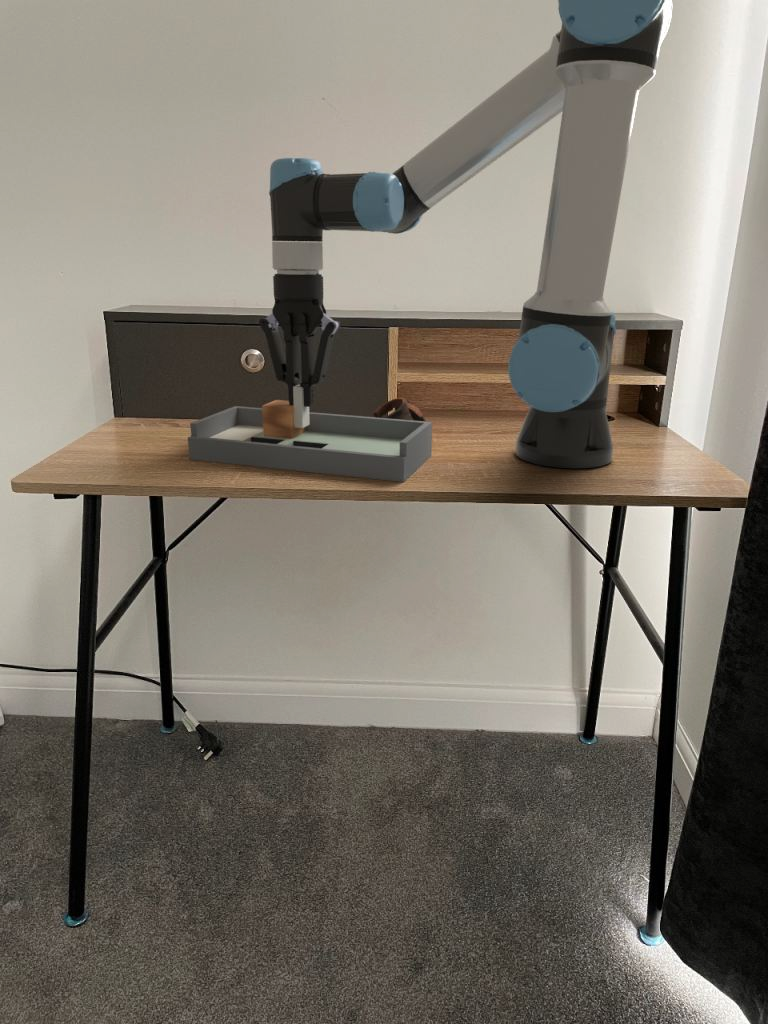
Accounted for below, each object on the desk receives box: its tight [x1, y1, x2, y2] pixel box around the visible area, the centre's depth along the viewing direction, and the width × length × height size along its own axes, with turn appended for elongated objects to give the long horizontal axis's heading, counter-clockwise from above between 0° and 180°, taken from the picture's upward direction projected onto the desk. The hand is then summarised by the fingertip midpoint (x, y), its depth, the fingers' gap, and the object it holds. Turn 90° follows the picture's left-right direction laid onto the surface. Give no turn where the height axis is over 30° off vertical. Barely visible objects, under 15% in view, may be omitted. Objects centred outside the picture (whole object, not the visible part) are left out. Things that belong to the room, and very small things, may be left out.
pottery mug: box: [370, 397, 427, 422], centre depth 129 cm, size 12×10×8 cm
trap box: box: [187, 405, 433, 483], centre depth 116 cm, size 35×15×6 cm, turn 71°
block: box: [261, 399, 305, 439], centre depth 120 cm, size 5×5×5 cm
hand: (302, 425), depth 119 cm, fingers closed
